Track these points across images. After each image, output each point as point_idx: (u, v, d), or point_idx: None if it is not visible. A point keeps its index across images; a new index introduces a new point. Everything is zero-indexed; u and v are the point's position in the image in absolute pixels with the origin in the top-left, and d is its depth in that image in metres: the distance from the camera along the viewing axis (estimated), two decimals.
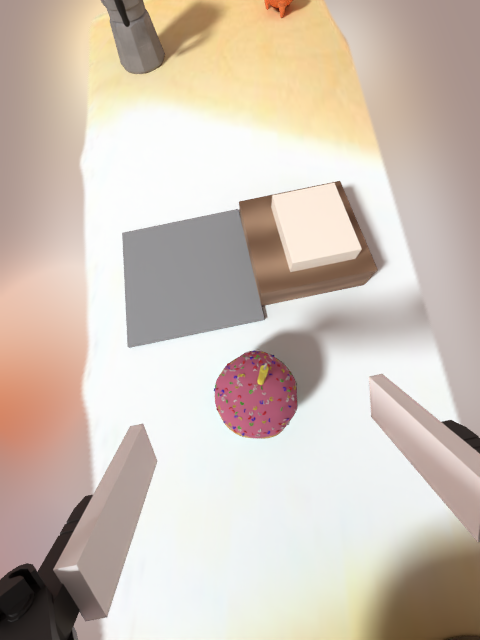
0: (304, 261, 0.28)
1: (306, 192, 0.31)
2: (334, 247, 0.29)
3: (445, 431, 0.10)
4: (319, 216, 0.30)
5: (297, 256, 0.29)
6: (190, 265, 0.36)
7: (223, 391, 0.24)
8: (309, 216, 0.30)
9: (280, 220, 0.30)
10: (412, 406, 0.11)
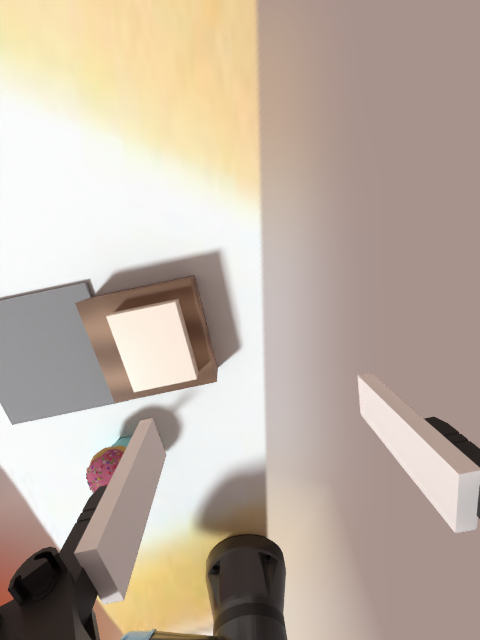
0: (145, 389, 0.31)
1: (144, 313, 0.29)
2: (171, 377, 0.31)
3: (426, 427, 0.10)
4: (157, 344, 0.30)
5: (138, 385, 0.31)
6: (47, 351, 0.35)
7: (90, 483, 0.35)
8: (148, 344, 0.30)
9: (118, 347, 0.30)
10: (397, 403, 0.12)
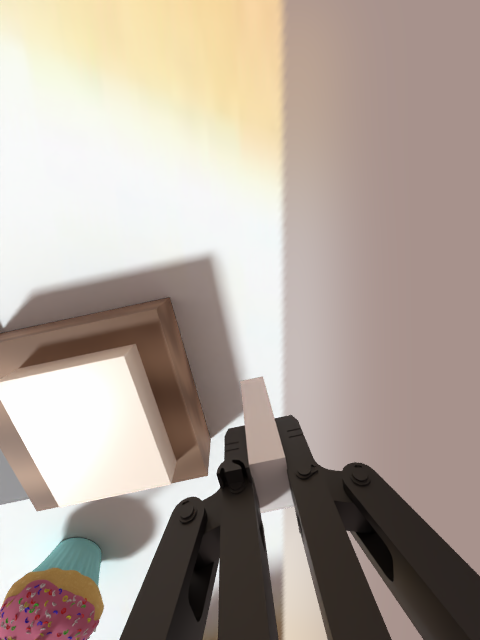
0: (79, 502, 0.18)
1: (66, 377, 0.15)
2: (126, 482, 0.17)
3: (271, 423, 0.12)
4: (96, 430, 0.16)
5: (66, 497, 0.17)
6: None
7: (1, 639, 0.21)
8: (79, 430, 0.16)
9: (23, 437, 0.16)
10: (263, 403, 0.14)
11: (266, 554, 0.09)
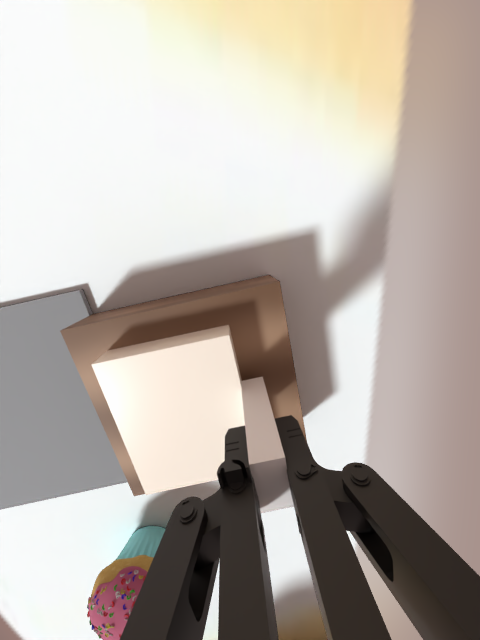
0: (166, 489, 0.17)
1: (167, 358, 0.14)
2: (215, 469, 0.17)
3: (270, 423, 0.12)
4: (192, 414, 0.15)
5: (153, 484, 0.17)
6: (18, 405, 0.21)
7: (94, 626, 0.21)
8: (174, 413, 0.15)
9: (117, 421, 0.15)
10: (263, 403, 0.14)
11: (266, 554, 0.09)
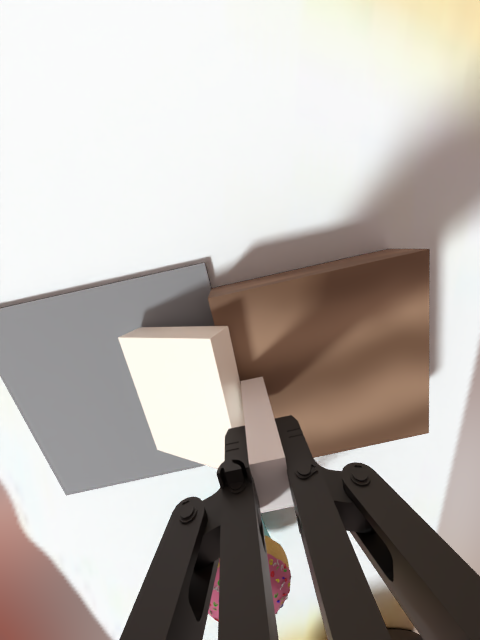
0: (170, 453, 0.20)
1: (164, 346, 0.16)
2: (204, 455, 0.18)
3: (271, 423, 0.12)
4: (184, 401, 0.17)
5: (161, 444, 0.20)
6: (129, 381, 0.21)
7: None
8: (171, 395, 0.17)
9: (136, 385, 0.19)
10: (263, 403, 0.14)
11: (266, 554, 0.09)
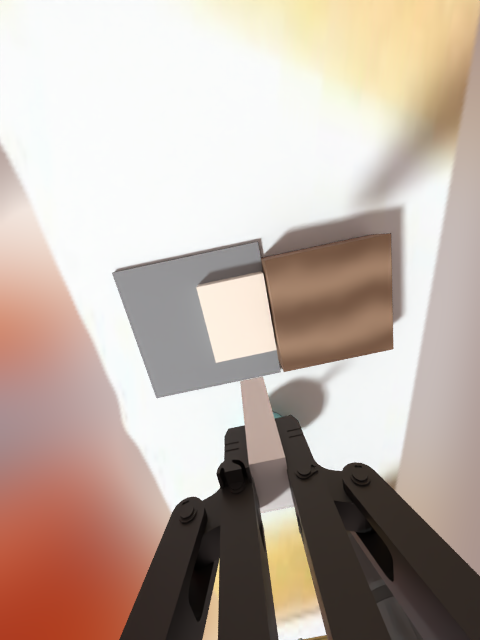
0: (226, 360, 0.32)
1: (233, 284, 0.30)
2: (253, 348, 0.32)
3: (271, 423, 0.12)
4: (243, 315, 0.31)
5: (220, 356, 0.32)
6: None
7: None
8: (234, 315, 0.31)
9: (205, 318, 0.31)
10: (263, 404, 0.14)
11: (266, 554, 0.09)
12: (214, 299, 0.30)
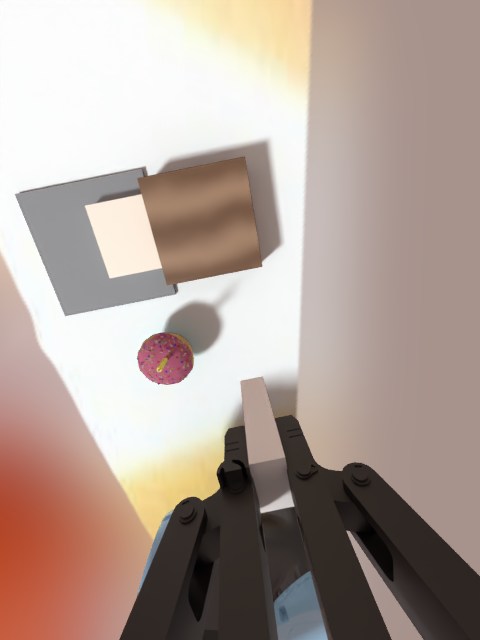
0: (119, 276, 0.37)
1: (117, 204, 0.34)
2: (141, 265, 0.37)
3: (270, 423, 0.12)
4: (129, 233, 0.35)
5: (113, 272, 0.37)
6: None
7: (142, 362, 0.37)
8: (121, 233, 0.35)
9: (95, 235, 0.35)
10: (263, 403, 0.14)
11: (266, 554, 0.09)
12: (102, 217, 0.35)
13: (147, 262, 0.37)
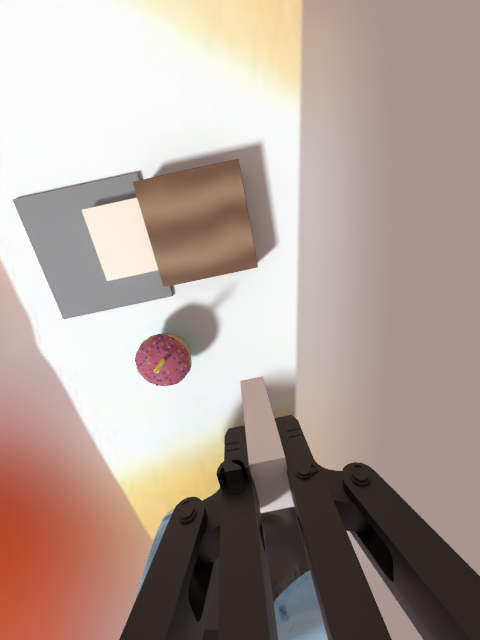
0: None
1: (113, 207, 0.35)
2: (138, 267, 0.37)
3: (271, 423, 0.12)
4: (125, 236, 0.36)
5: (110, 275, 0.37)
6: None
7: (140, 364, 0.37)
8: (117, 236, 0.36)
9: (92, 239, 0.36)
10: (263, 403, 0.14)
11: (266, 554, 0.09)
12: (98, 221, 0.35)
13: (144, 264, 0.37)
